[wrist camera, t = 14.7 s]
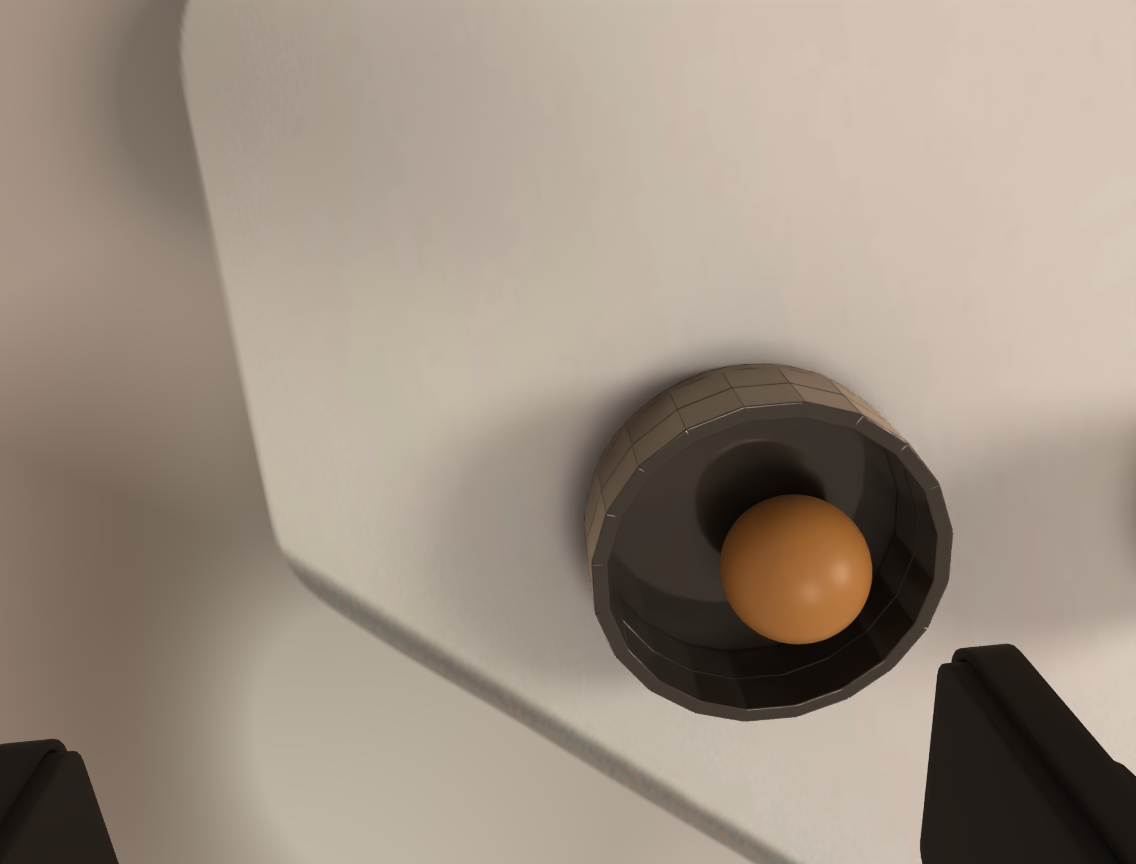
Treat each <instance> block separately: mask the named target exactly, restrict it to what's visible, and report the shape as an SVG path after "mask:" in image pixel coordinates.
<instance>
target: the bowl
mask: <svg viewBox="0 0 1136 864" xmlns="http://www.w3.org/2000/svg"><path fill="white" fill-rule="evenodd" d="M790 494H799V495H806V496H812V497H815V498H818V499H821V500H824V501H826V502H828V503H830V504H832V505H834V506H835V507H837V508H838V509H840V510H841V511H843V512H844V513H845V514H846V515H847V516H848V517H849V518H850V519H851V520H852V521H853V522H854V523H855V525H856V526H857V527H858V529H859V530H860V532H861V533H862V535H863V537H864V539H865V541H866V543H867V546H868V549H869V552H870V556H871V562H872V582H871V587H870V591H869V595H868V598H867V600H866V602H865V604H864V606H863V608H862V610H861V611H860V613H859V614H858V616H857V617H856V618H855V619H854V620H853V621H852V623H851V624H849V625H848V626H847V627H846V628H845V629H843V630H842V631H841V632H839V633H837V634H836V635H834V636H832V637H830V638H828V639H825V640H822V641H818V642H814V643H809V644H789V643H782V642H778V641H775V640H772V639H769V638H767V637H765V636H763V635H761V634H759V633H757V632H756V631H754V630H753V629H752V628H750V627H749V626H747V625H746V624H745V623H744V622H743V621H742V620H741V619H740V618H739V617H738V615H737V614H736V613H735V612H734V610H733V609H732V607H731V605H730V604H729V602H728V600H727V598H726V595H725V593H724V590H723V587H722V583H721V577H720V556H721V551H722V547H723V543H724V541H725V538H726V536H727V534H728V532H729V530H730V529H731V527H732V526H733V524H734V523H735V522H736V520H737V519H738V518H739V517H740V516H741V515H742V514H743V513H744V512H745V511H747V510H748V509H749V508H751V507H752V506H754V505H756V504H757V503H759V502H761V501H763V500H766V499H768V498H772V497H776V496H780V495H790ZM584 519H585V536H586V546H587V559H588V567H589V575H590V582H591V589H592V597H593V604H594V611H595V615H596V617H597V619H598V621H599V623H600V625H601V627H602V630H603V632H604V634H605V636H606V638H607V640H608V642H609V645H610V647H611V649H612V651H613V653H614V655H615V656H616V658H617V659H618V660H619V661H620V662H621V663H622V664H623V665H624V666H625V667H626V668H627V669H628V670H629V671H630V672H631V673H632V674H633V675H634V676H635V677H636V678H637V679H638V680H640V681H641V682H642V683H643V684H644V685H645V686H646V687H647V688H648V689H649V690H650V691H652V692H654V693H656V694H658V695H660V696H662V697H664V698H666V699H668V700H670V701H672V702H674V703H676V704H678V705H680V706H682V707H684V708H686V709H688V710H690V711H692V712H694V713H698V714H703V715H709V716H715V717H721V718H726V719H732V720H738V721H746V722H747V721H758V720H769V719H780V718H791V717H797V716H801V715H804V714H807V713H809V712H812V711H815V710H818V709H821V708H824V707H826V706H829V705H832V704H835V703H838V702H840V701H843V700H846V699H848V698H850V697H852V696H853V695H855V694H856V693H858V692H859V691H861V690H862V689H864V688H865V687H866V686H868V685H869V684H871V683H872V682H874V681H875V680H877V679H878V678H880V677H881V676H883V675H884V674H886V673H887V672H889V671H890V670H892V668H894V667H895V666H896V665H897V664H898V662H899V661H900V660H901V659H902V658H903V657H904V655H905V654H906V653H907V652H908V651H909V650H910V648H911V647H912V646H913V645H914V644H915V643H916V642H917V640H918V639H919V638H920V637H921V636H922V635H923V633H924V632H925V631H926V630H927V628H928V627H929V625H930V622H931V620H932V618H933V616H934V613H935V611H936V609H937V607H938V604H939V602H940V600H941V598H942V595H943V593H944V591H945V589H946V586H947V584H948V581H949V573H950V562H951V551H952V539H953V532H952V531H953V529H952V526H951V522H950V518H949V515H948V511H947V508H946V504H945V501H944V497H943V494H942V490H941V487H940V484H939V482H938V480H937V479H936V478H935V476H934V475H933V474H932V473H931V471H930V470H929V469H928V467H927V466H926V465H925V463H924V462H923V461H922V459H921V458H920V457H919V456H918V454H917V453H916V452H915V450H914V449H913V448H912V446H911V445H910V444H909V443H908V442H907V441H906V440H905V439H904V438H903V437H902V436H901V435H900V434H899V433H898V432H897V431H896V430H895V429H894V428H893V427H892V426H891V425H890V424H889V423H888V422H887V421H886V420H885V419H884V418H883V417H882V416H881V415H880V414H879V413H878V412H877V411H876V410H875V409H874V408H873V407H872V406H871V405H870V404H868V403H867V402H865V401H863V400H862V399H860V398H859V397H858V396H856V395H855V394H854V393H853V392H851V391H850V390H849V389H847V388H845V387H844V386H842V385H840V384H838V383H836V382H835V381H833V380H831V379H829V378H826V377H824V376H821V375H819V374H816V373H814V372H811V371H807V370H803V369H799V368H795V367H791V366H783V365H774V364H744V365H738V366H731V367H724V368H720V369H716V370H713V371H709V372H705V373H702V374H699V375H697V376H694V377H692V378H689V379H687V380H685V381H682V382H680V383H678V384H676V385H675V386H673V387H671V388H669V389H667V390H666V391H664V392H662V393H660V394H659V395H658V396H656V397H655V398H654V399H652V400H651V401H649V402H648V403H647V404H645V405H644V406H643V407H642V408H640V409H639V410H638V411H637V412H636V413H635V414H634V415H633V416H632V417H631V418H630V419H629V420H628V421H627V422H626V423H625V424H624V425H623V427H622V428H621V429H620V430H619V432H618V433H617V434H616V435H615V436H614V438H613V439H612V441H611V442H610V444H609V445H608V447H607V449H606V450H605V452H604V453H603V455H602V457H601V459H600V461H599V464H598V466H597V468H596V470H595V472H594V475H593V478H592V481H591V485H590V488H589V492H588V496H587V503H586V510H585V517H584Z"/></svg>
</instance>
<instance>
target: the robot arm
mask: <svg viewBox="0 0 1136 864" xmlns="http://www.w3.org/2000/svg"><path fill="white" fill-rule="evenodd" d="M920 852H921V859H922V864H1136V776H1135V775H1134V774H1133V773H1132V772H1131V771H1129V770H1128V769H1127V768H1126V767H1125V766H1124V765H1123V764H1120V763H1118V762H1116V761H1114V760H1113V759H1112V758H1111V757H1110V756H1109V755H1108V753H1107V752H1106V751H1105V750H1104V749H1103V748H1102V746H1101V745H1100V744H1099V743H1098V742H1097V741H1096V739H1095V738H1094V737H1093V736H1092V735H1091V733H1090V732H1089V731H1088V730H1087V729H1086V728H1085V726H1084V725H1083V724H1082V723H1081V722H1080V721H1079V719H1078V718H1077V717H1076V716H1075V715H1074V714H1073V712H1072V711H1071V710H1070V709H1069V708H1068V706H1067V705H1066V704H1065V703H1064V702H1063V701H1062V699H1061V698H1060V697H1059V696H1058V695H1057V694H1056V692H1055V691H1054V690H1053V689H1052V688H1051V687H1050V685H1049V684H1048V683H1047V682H1046V681H1045V680H1044V678H1043V677H1042V676H1041V675H1040V674H1039V672H1038V671H1037V670H1036V669H1035V668H1034V667H1033V665H1032V664H1031V663H1030V662H1029V661H1028V660H1027V658H1026V657H1025V656H1024V655H1023V654H1022V653H1021V651H1020V650H1018V649H1017V648H1016V647H1015V646H1014V645H1011V644H999V645H989V646H979V647H969V648H960V649H958V650H956V651H955V653H954V655H953V657H952V662H951V663H944V664H942V665H941V666H940V668H939V670H938V675H937V684H936V693H935V703H934V713H933V723H932V732H931V742H930V752H929V762H928V771H927V781H926V791H925V801H924V810H923V820H922V830H921V839H920ZM0 864H118V861H117V858H116V855H115V852H114V849H113V846H112V843H111V840H110V837H109V834H108V831H107V828H106V825H105V823H104V820H103V817H102V814H101V812H100V808H99V805H98V802H97V799H96V796H95V793H94V790H93V787H92V785H91V782H90V779H89V776H88V773H87V770H86V767H85V764H84V762H83V759H82V757H81V755H80V754H79V753H78V752H75V751H67V750H66V748H65V746H64V744H63V743H62V742H60V741H59V740H56V739H46V740H36V741H27V742H17V743H6V744H1V745H0Z"/></svg>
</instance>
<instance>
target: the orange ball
mask: <svg viewBox="0 0 1136 864" xmlns="http://www.w3.org/2000/svg"><path fill="white" fill-rule="evenodd" d="M720 577H721V583H722V587H723V590H724V593H725V595H726V598H727V600H728V602H729V604H730V605H731V607H732V609H733V610H734V612H735V613H736V614H737V615H738V617H739V618H740V619H741V620H742V621H743V622H744V623H745V624H746V625H747V626H749V627H750V628H752V629H753V630H754V631H756V632H757V633H759V634H761V635H763V636H765V637H767V638H769V639H772V640H775V641H778V642H782V643H789V644H809V643H814V642H818V641H822V640H825V639H828V638H830V637H832V636H834V635H836V634H837V633H839V632H841V631H842V630H843V629H845V628H846V627H847V626H848V625H849V624H851V623H852V621H853V620H854V619H855V618H856V617H857V616H858V614H859V613H860V611H861V610H862V608H863V606H864V604H865V602H866V600H867V598H868V595H869V591H870V587H871V582H872V562H871V556H870V552H869V549H868V546H867V543H866V541H865V539H864V537H863V535H862V533H861V532H860V530H859V529H858V527H857V526H856V525H855V523H854V522H853V521H852V520H851V519H850V518H849V517H848V516H847V515H846V514H845V513H844V512H843V511H841V510H840V509H838V508H837V507H835V506H834V505H832V504H830V503H828V502H826V501H824V500H821V499H818V498H815V497H812V496H806V495H799V494H790V495H780V496H776V497H772V498H768V499H766V500H763V501H761V502H759V503H757V504H756V505H754V506H752V507H751V508H749V509H748V510H747V511H745V512H744V513H743V514H742V515H741V516H740V517H739V518H738V519H737V520H736V522H735V523H734V524H733V526H732V527H731V529H730V530H729V532H728V534H727V536H726V538H725V541H724V543H723V547H722V551H721V556H720Z"/></svg>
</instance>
